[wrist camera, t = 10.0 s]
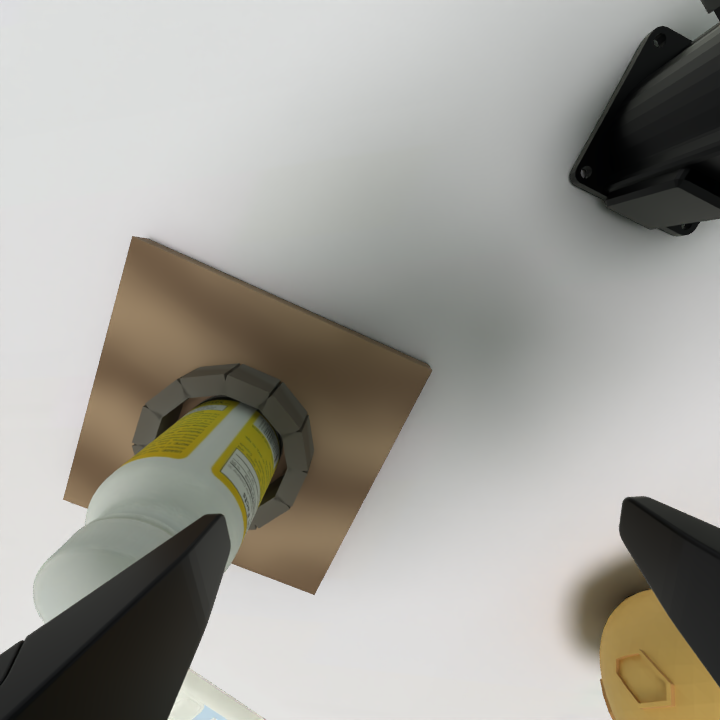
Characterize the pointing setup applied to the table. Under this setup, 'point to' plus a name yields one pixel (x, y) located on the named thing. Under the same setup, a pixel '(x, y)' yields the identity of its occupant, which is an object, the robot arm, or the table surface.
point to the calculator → (207, 702)
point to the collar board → (248, 399)
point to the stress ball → (652, 667)
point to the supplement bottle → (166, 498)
